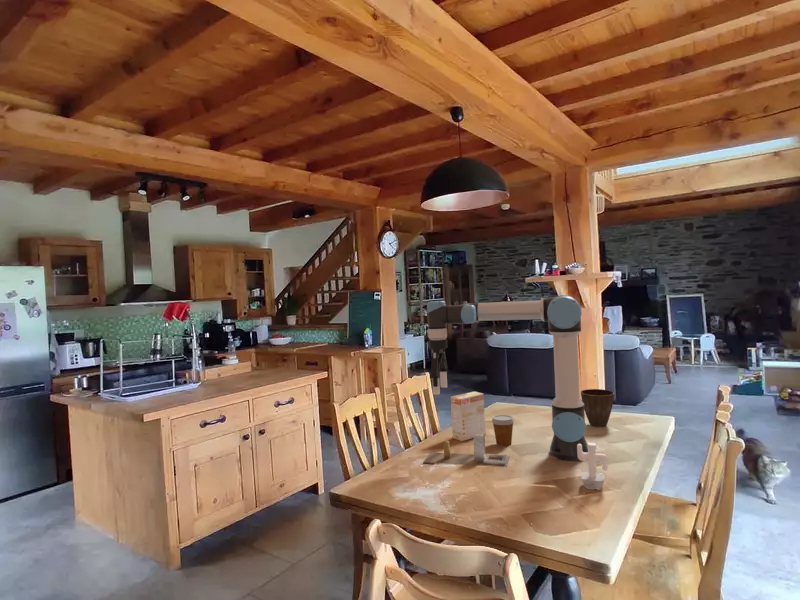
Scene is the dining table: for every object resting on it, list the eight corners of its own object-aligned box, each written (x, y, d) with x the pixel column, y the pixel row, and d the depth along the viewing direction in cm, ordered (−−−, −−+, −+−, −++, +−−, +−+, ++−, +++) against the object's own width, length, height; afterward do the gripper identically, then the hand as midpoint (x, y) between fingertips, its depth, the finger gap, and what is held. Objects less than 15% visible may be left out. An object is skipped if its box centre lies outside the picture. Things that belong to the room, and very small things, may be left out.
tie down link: (507, 457, 201) (506, 433, 200) (505, 465, 193) (503, 439, 193) (476, 456, 204) (475, 431, 204) (473, 463, 196) (472, 438, 196)
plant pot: (590, 419, 251) (589, 387, 251) (620, 424, 240) (619, 391, 240) (576, 426, 241) (574, 393, 240) (606, 431, 230) (605, 397, 230)
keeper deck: (509, 457, 202) (509, 438, 202) (507, 468, 191) (506, 448, 191) (430, 453, 212) (429, 435, 212) (423, 463, 201) (422, 444, 201)
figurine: (608, 492, 165) (606, 447, 165) (577, 489, 169) (576, 445, 168) (608, 484, 172) (606, 441, 171) (579, 481, 175) (577, 439, 175)
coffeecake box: (476, 431, 240) (474, 391, 240) (486, 434, 234) (484, 393, 234) (451, 438, 232) (449, 396, 232) (461, 441, 226) (459, 398, 226)
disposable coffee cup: (490, 447, 216) (489, 419, 216) (495, 440, 225) (494, 414, 224) (513, 449, 212) (511, 421, 212) (516, 442, 221) (515, 415, 221)
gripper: (435, 335, 217) (438, 384, 217) (420, 342, 193) (423, 397, 194) (453, 335, 214) (455, 384, 215) (439, 342, 191) (442, 397, 191)
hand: (440, 390), depth 204 cm, fingers open, 13 cm apart
